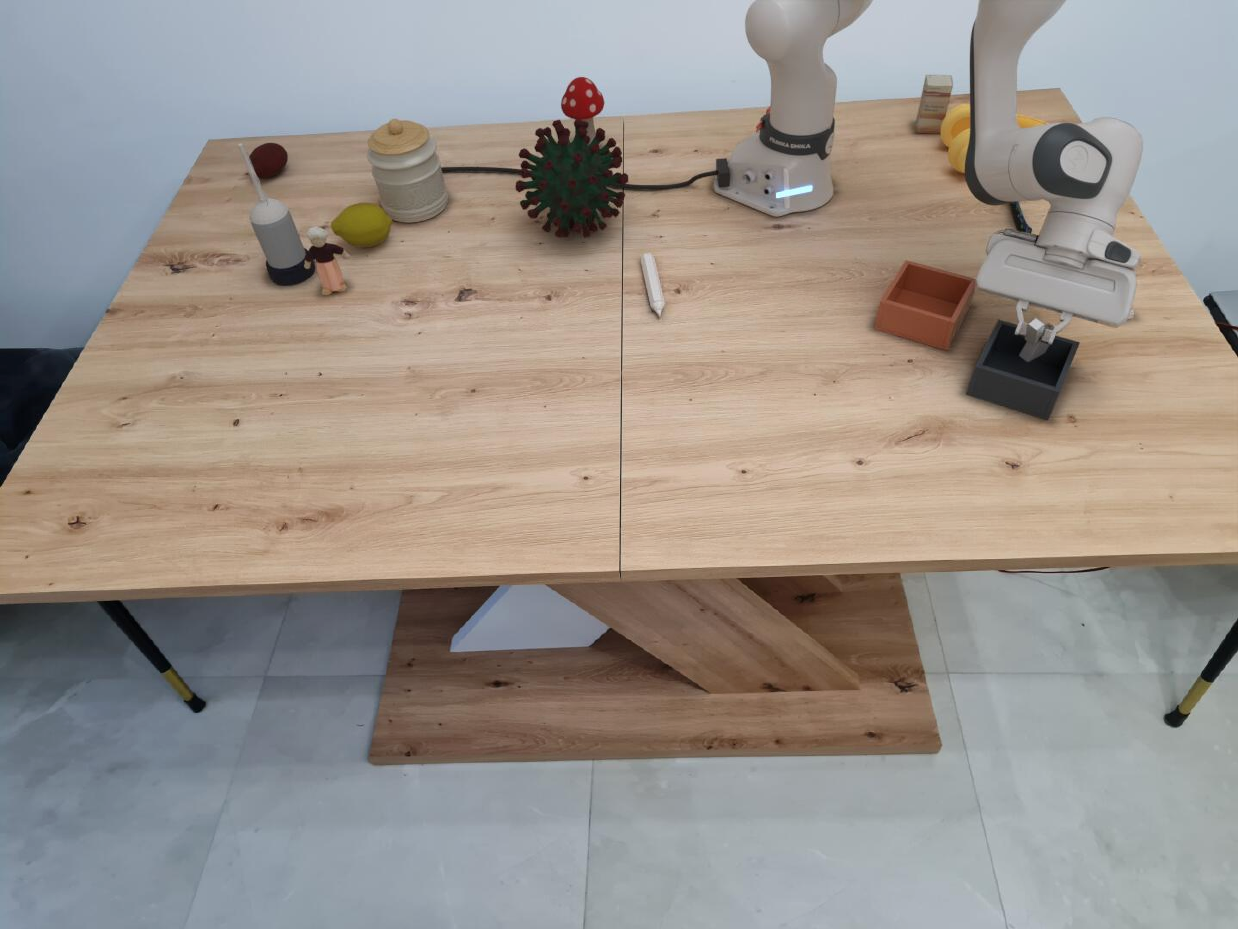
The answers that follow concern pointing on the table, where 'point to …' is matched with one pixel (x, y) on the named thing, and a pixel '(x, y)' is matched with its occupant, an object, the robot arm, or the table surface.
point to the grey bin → (1021, 372)
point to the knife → (1019, 218)
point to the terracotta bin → (925, 304)
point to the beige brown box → (933, 103)
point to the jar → (407, 171)
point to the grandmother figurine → (325, 261)
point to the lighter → (1035, 340)
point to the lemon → (362, 225)
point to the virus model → (572, 179)
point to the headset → (967, 133)
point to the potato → (268, 159)
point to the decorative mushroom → (583, 102)
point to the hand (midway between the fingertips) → (1033, 339)
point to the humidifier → (277, 236)
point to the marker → (652, 283)
